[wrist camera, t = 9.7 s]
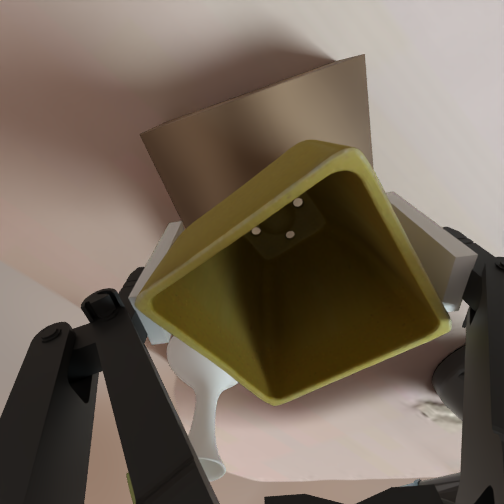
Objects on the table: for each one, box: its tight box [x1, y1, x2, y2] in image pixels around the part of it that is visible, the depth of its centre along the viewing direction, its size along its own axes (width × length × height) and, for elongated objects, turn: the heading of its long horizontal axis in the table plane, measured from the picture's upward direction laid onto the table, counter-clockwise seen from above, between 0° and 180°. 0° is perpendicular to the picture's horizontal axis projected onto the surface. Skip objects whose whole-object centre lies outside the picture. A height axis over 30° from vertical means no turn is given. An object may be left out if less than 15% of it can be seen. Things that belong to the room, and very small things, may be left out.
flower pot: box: [134, 140, 451, 406], centre depth 14 cm, size 9×9×9 cm
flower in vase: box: [126, 336, 238, 504], centre depth 25 cm, size 13×11×25 cm
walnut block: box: [140, 54, 373, 238], centre depth 22 cm, size 14×14×6 cm
